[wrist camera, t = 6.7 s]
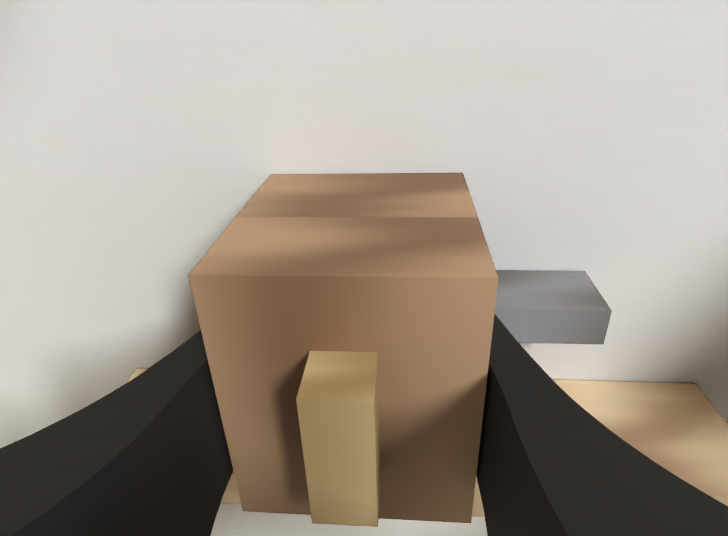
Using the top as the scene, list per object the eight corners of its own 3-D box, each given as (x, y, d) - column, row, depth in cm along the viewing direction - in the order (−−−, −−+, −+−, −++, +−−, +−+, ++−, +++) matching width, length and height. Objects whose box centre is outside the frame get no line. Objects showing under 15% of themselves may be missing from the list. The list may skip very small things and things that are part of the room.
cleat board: (738, 272, 13) (859, 369, 10) (685, 412, 15) (766, 531, 12) (104, 267, 15) (8, 349, 11) (145, 395, 17) (77, 496, 13)
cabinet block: (462, 172, 12) (513, 321, 6) (450, 359, 15) (478, 581, 9) (270, 174, 13) (154, 314, 7) (293, 355, 16) (224, 565, 10)
